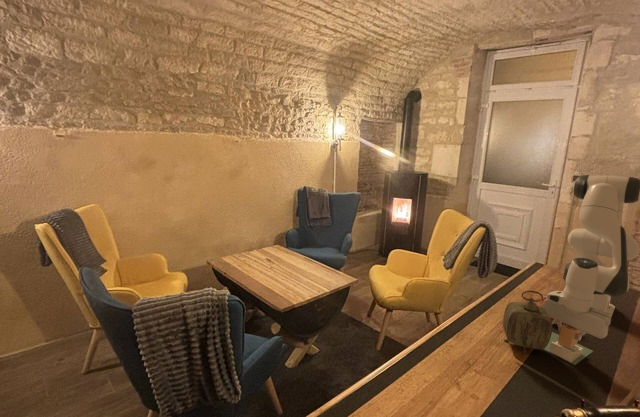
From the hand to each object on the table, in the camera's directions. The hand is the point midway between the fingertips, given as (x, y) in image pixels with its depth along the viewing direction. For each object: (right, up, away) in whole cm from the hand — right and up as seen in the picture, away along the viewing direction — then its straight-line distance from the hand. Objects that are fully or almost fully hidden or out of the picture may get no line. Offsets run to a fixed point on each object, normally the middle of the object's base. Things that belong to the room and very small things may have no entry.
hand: (569, 335), depth 124 cm
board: (0, -7, +8) cm, 10 cm away
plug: (0, -3, +1) cm, 3 cm away
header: (0, -7, +2) cm, 7 cm away
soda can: (+9, -3, +25) cm, 26 cm away
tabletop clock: (-15, -8, +4) cm, 17 cm away
